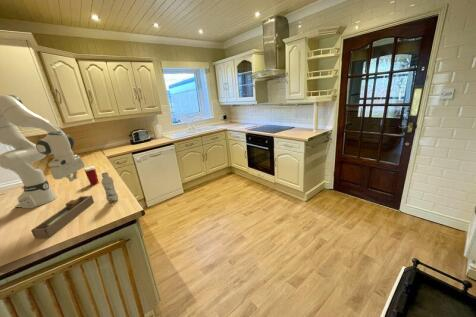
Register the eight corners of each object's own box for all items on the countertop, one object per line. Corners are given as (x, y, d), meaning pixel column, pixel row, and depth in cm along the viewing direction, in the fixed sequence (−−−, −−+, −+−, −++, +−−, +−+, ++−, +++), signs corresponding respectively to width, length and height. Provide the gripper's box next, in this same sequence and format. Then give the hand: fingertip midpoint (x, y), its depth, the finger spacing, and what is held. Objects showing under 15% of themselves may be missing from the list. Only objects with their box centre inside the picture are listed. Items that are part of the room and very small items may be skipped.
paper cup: (102, 181, 168) (97, 166, 164) (92, 186, 162) (87, 169, 157) (96, 180, 171) (91, 165, 167) (87, 184, 165) (81, 169, 160)
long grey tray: (35, 238, 103) (30, 230, 101) (82, 203, 135) (80, 196, 133) (49, 237, 103) (45, 229, 101) (94, 202, 135) (91, 195, 133)
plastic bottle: (110, 199, 138) (102, 172, 131) (120, 197, 138) (112, 171, 131) (105, 204, 131) (96, 176, 125) (116, 202, 132) (107, 174, 125)
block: (68, 210, 121) (65, 204, 120) (73, 206, 126) (71, 200, 124) (75, 209, 121) (72, 203, 120) (80, 205, 126) (78, 199, 124)
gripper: (73, 153, 130) (80, 173, 134) (45, 165, 111) (54, 187, 115) (83, 153, 130) (90, 172, 134) (56, 164, 110) (65, 186, 115)
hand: (73, 179), depth 124 cm, fingers closed
